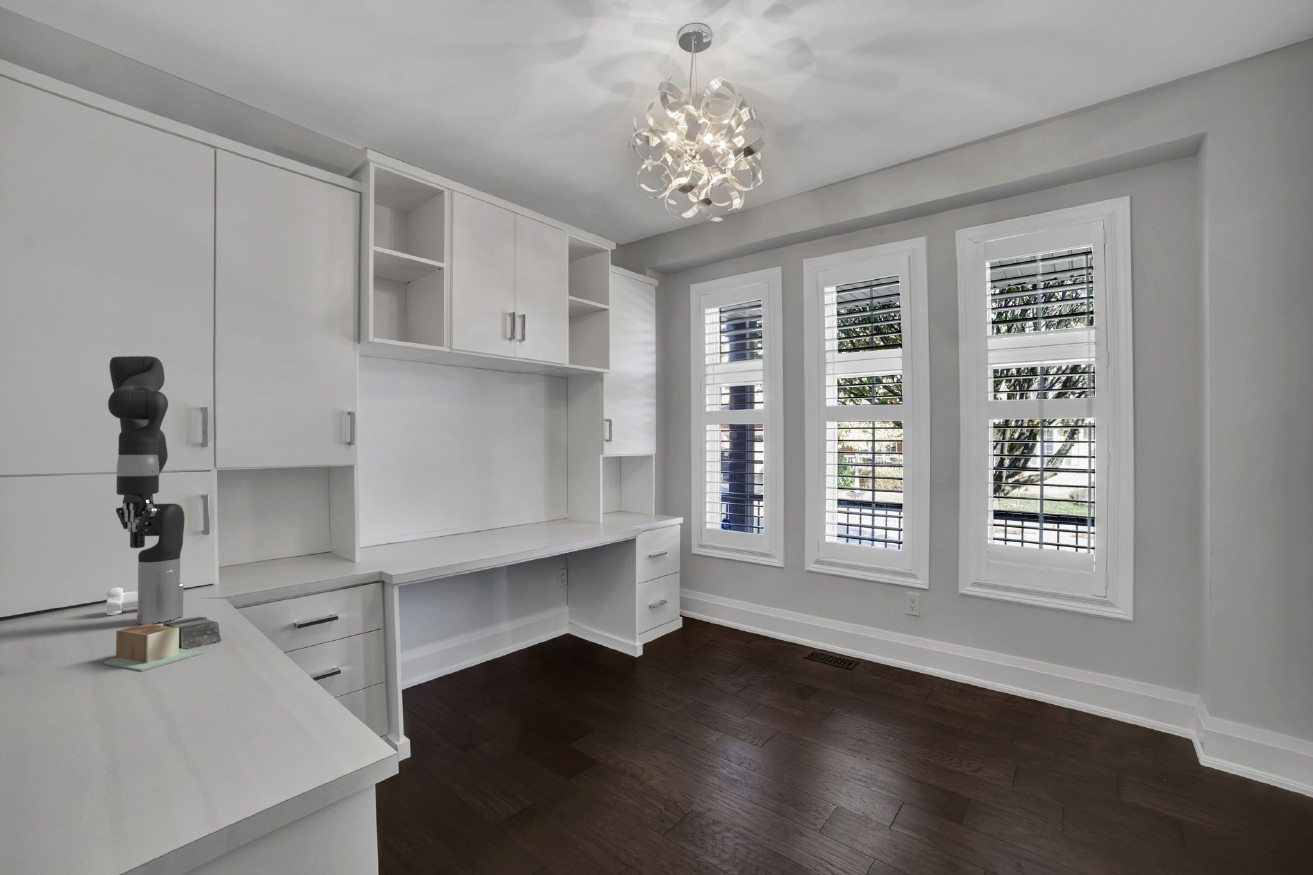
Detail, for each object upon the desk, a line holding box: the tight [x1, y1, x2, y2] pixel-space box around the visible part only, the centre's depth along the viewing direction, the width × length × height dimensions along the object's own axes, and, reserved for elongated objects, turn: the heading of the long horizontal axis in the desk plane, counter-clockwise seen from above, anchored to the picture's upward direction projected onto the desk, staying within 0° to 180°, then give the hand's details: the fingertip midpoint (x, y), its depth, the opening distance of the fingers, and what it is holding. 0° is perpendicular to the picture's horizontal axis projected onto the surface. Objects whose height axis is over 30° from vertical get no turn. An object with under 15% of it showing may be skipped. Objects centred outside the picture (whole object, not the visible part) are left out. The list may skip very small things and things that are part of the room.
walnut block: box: [115, 624, 179, 663], centre depth 136 cm, size 6×6×12 cm
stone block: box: [162, 616, 222, 650], centre depth 148 cm, size 9×14×5 cm, turn 53°
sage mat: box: [103, 648, 203, 672], centre depth 135 cm, size 12×14×1 cm
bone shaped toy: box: [105, 586, 138, 616], centre depth 179 cm, size 15×9×8 cm, turn 127°
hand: (137, 547), depth 138 cm, fingers closed
